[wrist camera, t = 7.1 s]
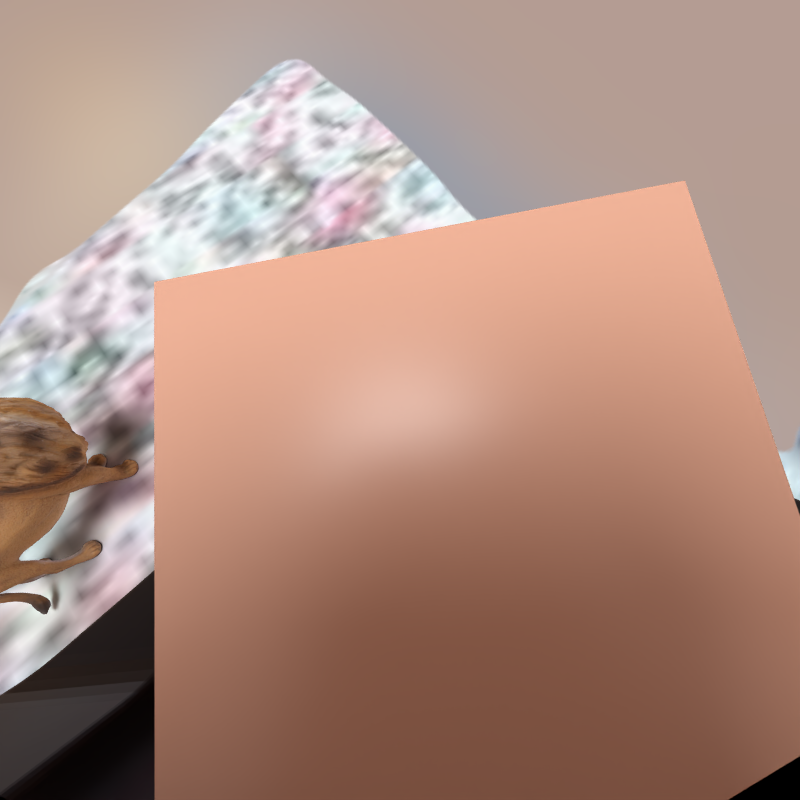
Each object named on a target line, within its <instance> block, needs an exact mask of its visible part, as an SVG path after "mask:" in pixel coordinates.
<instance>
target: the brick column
mask: <svg viewBox="0 0 800 800" xmlns="http://www.w3.org/2000/svg"><path fill="white" fill-rule="evenodd" d="M154 556H155V800H800V514H799V512H798V509H797V506H796V503H795V500H794V497H793V494H792V491H791V488H790V485H789V482H788V480H787V477H786V474H785V471H784V468H783V465H782V462H781V459H780V456H779V453H778V450H777V447H776V445H775V442H774V439H773V436H772V433H771V430H770V427H769V424H768V421H767V418H766V415H765V413H764V410H763V407H762V404H761V401H760V398H759V395H758V392H757V389H756V386H755V384H754V381H753V378H752V375H751V372H750V369H749V366H748V363H747V360H746V357H745V354H744V351H743V348H742V346H741V343H740V340H739V337H738V334H737V331H736V328H735V325H734V322H733V319H732V316H731V313H730V311H729V308H728V305H727V302H726V299H725V296H724V293H723V290H722V287H721V284H720V281H719V278H718V276H717V273H716V270H715V267H714V264H713V261H712V258H711V255H710V253H709V249H708V246H707V243H706V241H705V238H704V235H703V232H702V229H701V226H700V223H699V220H698V217H697V214H696V212H695V209H694V206H693V203H692V200H691V197H690V194H689V191H688V188H687V185H686V182H685V181H680V182H675V183H670V184H664V185H659V186H654V187H648V188H644V189H638V190H633V191H628V192H622V193H618V194H612V195H607V196H602V197H597V198H591V199H586V200H581V201H575V202H570V203H565V204H560V205H555V206H549V207H544V208H539V209H533V210H528V211H523V212H518V213H513V214H508V215H502V216H497V217H492V218H486V219H481V220H476V221H471V222H466V223H460V224H455V225H450V226H445V227H439V228H434V229H429V230H424V231H418V232H413V233H408V234H403V235H398V236H392V237H387V238H382V239H377V240H371V241H366V242H361V243H356V244H351V245H345V246H340V247H335V248H330V249H324V250H319V251H314V252H309V253H303V254H298V255H293V256H288V257H283V258H277V259H272V260H267V261H262V262H256V263H251V264H246V265H241V266H236V267H230V268H225V269H220V270H215V271H209V272H204V273H199V274H194V275H188V276H183V277H178V278H173V279H168V280H162V281H157V282H154Z"/></svg>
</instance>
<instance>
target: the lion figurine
mask: <svg viewBox="0 0 800 800" xmlns="http://www.w3.org/2000/svg"><path fill="white" fill-rule="evenodd" d="M87 447H88V442H87V441H85V438H84V437H83V436H80V435H78V434H76V433H75V432H74V431H72V429H71V427H70V425H69V423H68V422H67V421H65V419H64V418H63V417H62V415H61V414H60V413H59V412H57V411H55V410H54V409H53V408H51V407H49V406H47V405H45V404H43V403H41V402H39V401H36V400H33V399H31V398H0V593H1V592H3V591H5V590H7V589H9V588H11V587H13V586H15V585H17V584H23V583H28V582H32V581H35V580H37V579H39V578H41V577H43V576H45V575H46V574H54V573H58V572H61V571H63V570H65V569H67V568H69V567H71V566H74V565H76V564H78V563H81V562H84V561H87V560H90V559H92V558H94V557H95V556H97V555H98V554H99V553H100V551H101V544H100V543H98V542H97V541H95V540H92V541H88V542H87V543H85V544H84V545H83V547H82V548H81V549H80V550H79V551H78V552H77V553H75V554H73V555H71V556H69V557H67V558H64V559H60V560H56V561H51V560H50V559H49V558H43V559H40V560H30V561H20V560H19V557H20V556H21V554H22V553H23V552H24V551H25V550H27V549H28V548H29V547H31V546H32V545H33V544H34V543H36V542H37V541H38V540H39V539H41V538H42V537H43V536H44V535H45V534H46V533H48V532H49V531H50V530H51V529H52V528H53V526H54V525H55V524H56V522H57V521H58V520H59V518H60V517H61V515H62V513H63V512H64V509H65V507H66V504H67V501H68V498H69V495H70V493H71V492H74V491H77V490H79V489H82V488H84V487H87V486H91V485H95V484H99V483H104V482H109V481H115V480H121V479H124V478H128V477H130V476H133V475H134V474H135V473H136V472H137V470H138V464H137V463H136V461H133V460H125V461H124V462H123V464H121V465H117V466H115V467H112V468H107V467H105V466H106V463H107V458H106V457H105V456H104V455H102V454H98V455H93V456H92V457H91V458H90V459H89V460H88V464H87V458H86V451H87V450H88V448H87ZM14 601H18V602H26V603H29V604H31V605H32V606H33V607H34V608H35V609H36V610H37V611H39V612H41V613H42V614H47V612H48V610H49V607H50V606H51V603H50V601H49V600H48V599H47V598H45V597H44V596H42V595H37V594H30V593H4V594H0V603H5V602H14Z"/></svg>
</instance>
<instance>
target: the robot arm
mask: <svg viewBox="0 0 800 800" xmlns="http://www.w3.org/2000/svg"><path fill="white" fill-rule="evenodd" d="M794 500H795V503H796V506H797V509H798V512H799V514H800V501H799V500H797V499H795V498H794ZM0 800H155V570H154V571H153V572H152V573H151V574H149V575H148V576H147V577H146V578H145V579H144V580H143V581H142V582H140V583H139V584H138V585H137V586H136V587H135V588H134V589H132V590H131V591H130V592H129V593H128V594H127V595H125V596H124V597H123V598H122V599H121V600H120V601H118V602H117V603H116V604H115V605H114V606H113V607H111V608H110V609H109V610H108V611H107V612H106V613H104V614H103V615H102V616H101V617H100V618H99V619H98V620H96V621H95V622H94V623H93V624H92V625H91V626H89V627H88V628H87V629H86V630H85V631H84V632H82V633H81V634H80V635H79V636H78V637H77V638H75V639H74V640H73V641H72V642H71V643H70V644H68V645H67V646H66V647H65V648H64V649H63V650H61V651H60V652H59V653H58V654H57V655H56V656H54V657H53V658H52V659H51V660H50V661H48V662H47V663H46V664H45V665H43V666H42V667H41V668H40V669H38V670H37V671H36V672H34V673H33V674H32V675H30V676H29V677H27V678H26V679H25V680H23V681H22V682H20V683H19V684H17V685H16V686H14V687H13V688H11V689H9V690H8V691H6V692H5V693H3V694H2V695H0Z"/></svg>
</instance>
